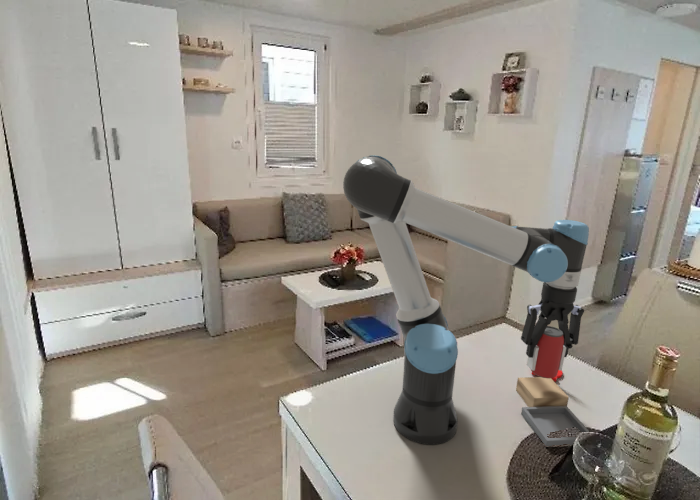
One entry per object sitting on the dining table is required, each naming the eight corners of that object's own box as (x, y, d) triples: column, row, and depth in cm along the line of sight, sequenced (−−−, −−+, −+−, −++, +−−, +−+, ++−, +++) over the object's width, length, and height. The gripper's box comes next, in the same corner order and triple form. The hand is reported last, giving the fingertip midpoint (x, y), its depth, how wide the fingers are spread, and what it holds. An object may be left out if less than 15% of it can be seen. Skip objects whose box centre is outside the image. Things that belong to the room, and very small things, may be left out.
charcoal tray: (545, 448, 93) (546, 440, 93) (521, 414, 104) (522, 407, 104) (594, 446, 94) (596, 438, 94) (565, 412, 105) (566, 405, 105)
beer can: (525, 364, 111) (532, 323, 108) (550, 366, 111) (558, 325, 107) (535, 379, 105) (543, 336, 101) (561, 380, 104) (570, 337, 101)
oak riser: (532, 411, 105) (534, 398, 104) (515, 390, 114) (517, 377, 113) (566, 410, 106) (568, 397, 105) (547, 389, 115) (549, 376, 113)
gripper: (529, 289, 96) (514, 376, 103) (608, 290, 98) (588, 375, 105) (514, 278, 103) (501, 359, 110) (588, 279, 105) (571, 359, 112)
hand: (543, 367), depth 107 cm, fingers closed on beer can, 6 cm apart
